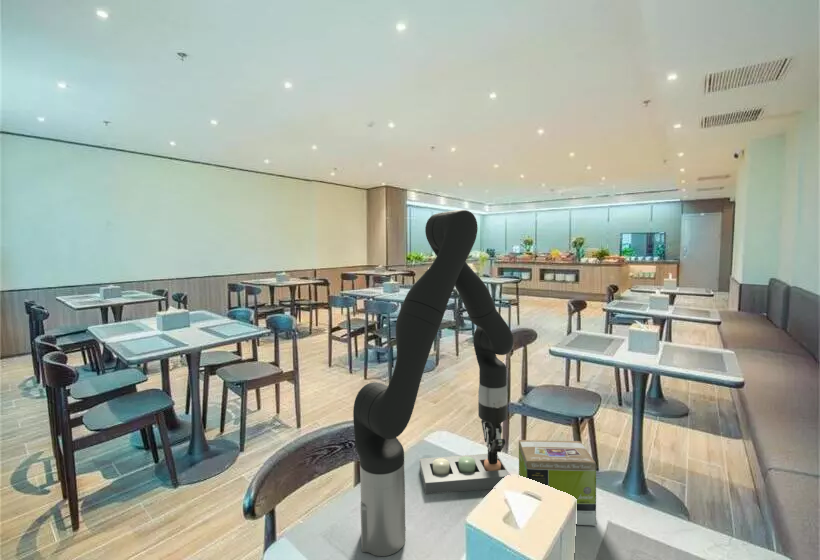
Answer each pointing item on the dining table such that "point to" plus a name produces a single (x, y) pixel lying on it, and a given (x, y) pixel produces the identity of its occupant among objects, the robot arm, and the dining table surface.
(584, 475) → the tea box
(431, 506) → the dining table surface
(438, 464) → the cream button
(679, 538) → the dining table surface
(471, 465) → the sage button
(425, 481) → the button panel
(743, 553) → the dining table surface
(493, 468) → the terracotta button
